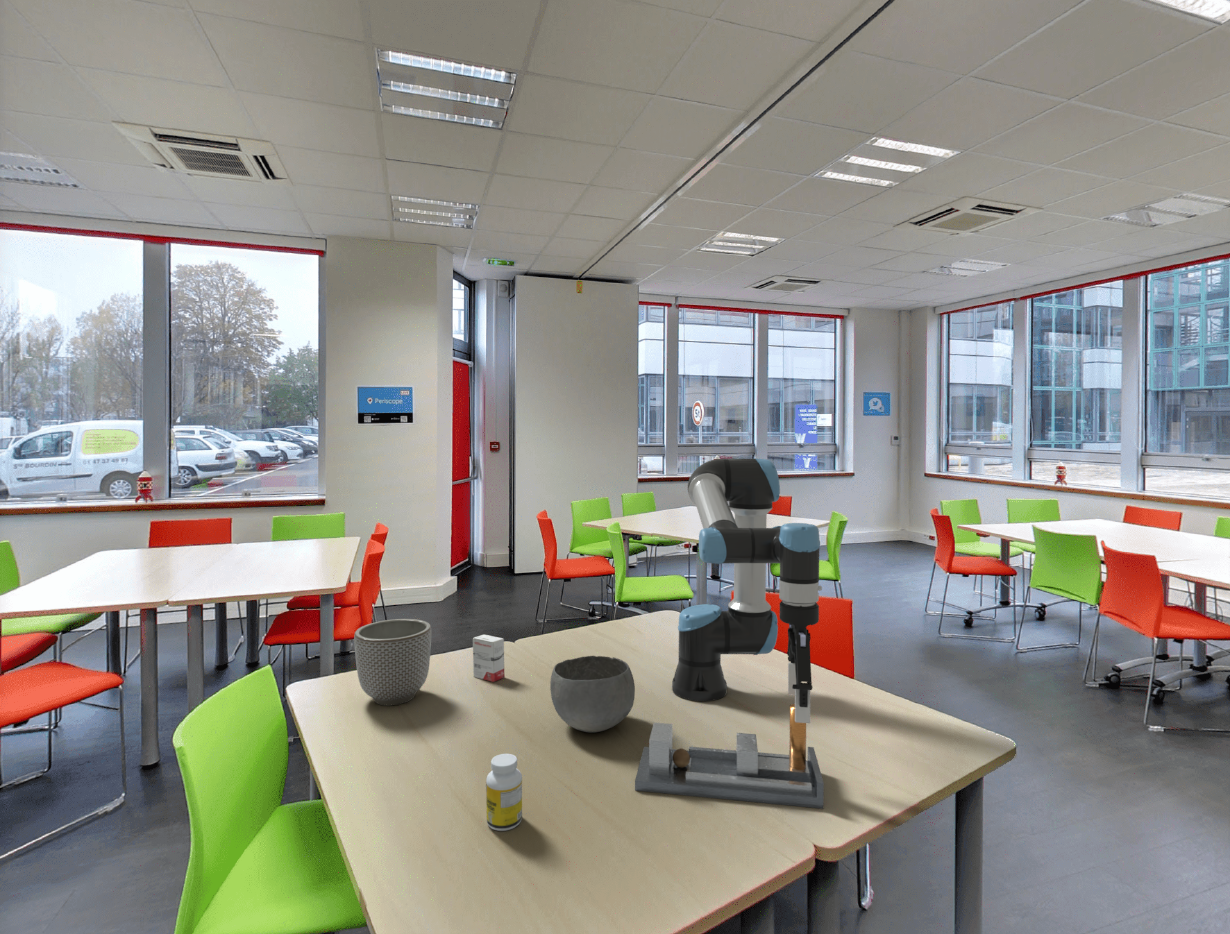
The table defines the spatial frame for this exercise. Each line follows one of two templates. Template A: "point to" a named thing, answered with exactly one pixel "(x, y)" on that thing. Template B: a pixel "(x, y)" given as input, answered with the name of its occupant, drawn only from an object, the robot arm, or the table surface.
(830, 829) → the table surface
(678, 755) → the walnut
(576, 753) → the table surface
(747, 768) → the ram handle
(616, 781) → the table surface
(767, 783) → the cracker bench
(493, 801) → the pill bottle
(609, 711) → the bowl
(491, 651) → the ink box
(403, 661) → the planter
